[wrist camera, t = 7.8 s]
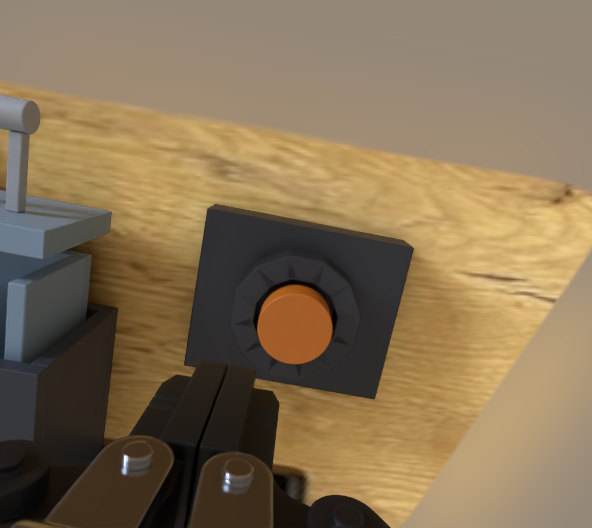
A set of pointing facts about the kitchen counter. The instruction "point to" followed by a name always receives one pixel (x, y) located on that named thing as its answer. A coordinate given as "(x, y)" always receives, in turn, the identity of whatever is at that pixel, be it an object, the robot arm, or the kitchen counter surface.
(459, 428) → the kitchen counter surface
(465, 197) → the kitchen counter surface
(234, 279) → the control block
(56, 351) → the drawer housing
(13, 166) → the drawer
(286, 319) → the button
